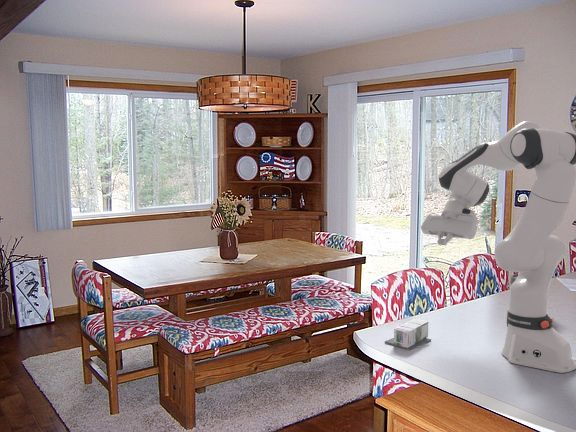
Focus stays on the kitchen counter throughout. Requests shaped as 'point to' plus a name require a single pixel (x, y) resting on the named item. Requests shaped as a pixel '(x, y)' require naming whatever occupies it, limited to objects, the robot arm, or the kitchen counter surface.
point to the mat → (426, 340)
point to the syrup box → (410, 333)
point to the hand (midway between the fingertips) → (441, 244)
